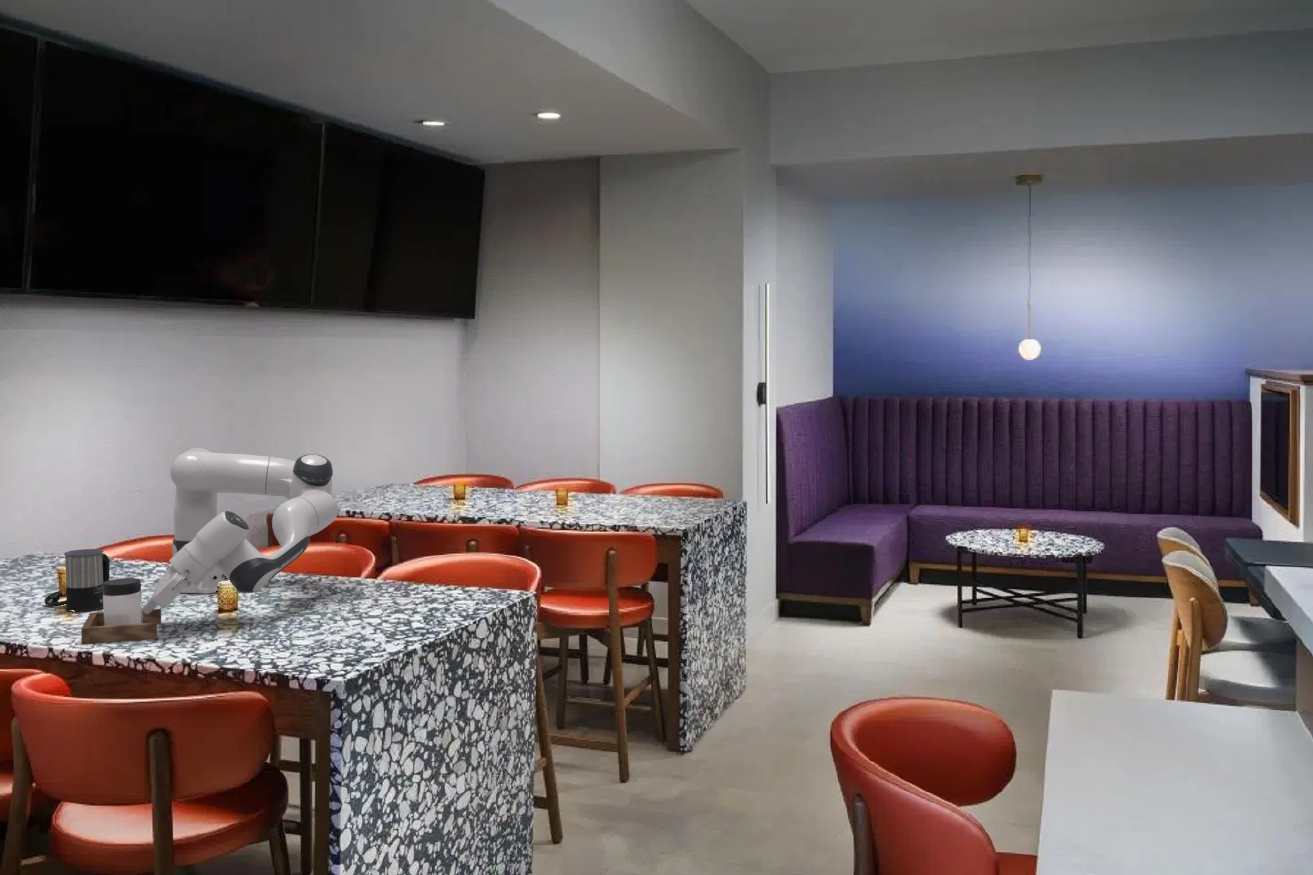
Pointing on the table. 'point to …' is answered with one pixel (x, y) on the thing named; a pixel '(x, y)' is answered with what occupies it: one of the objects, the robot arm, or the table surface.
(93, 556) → the milk frother
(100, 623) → the brown square open piece
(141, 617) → the jar
